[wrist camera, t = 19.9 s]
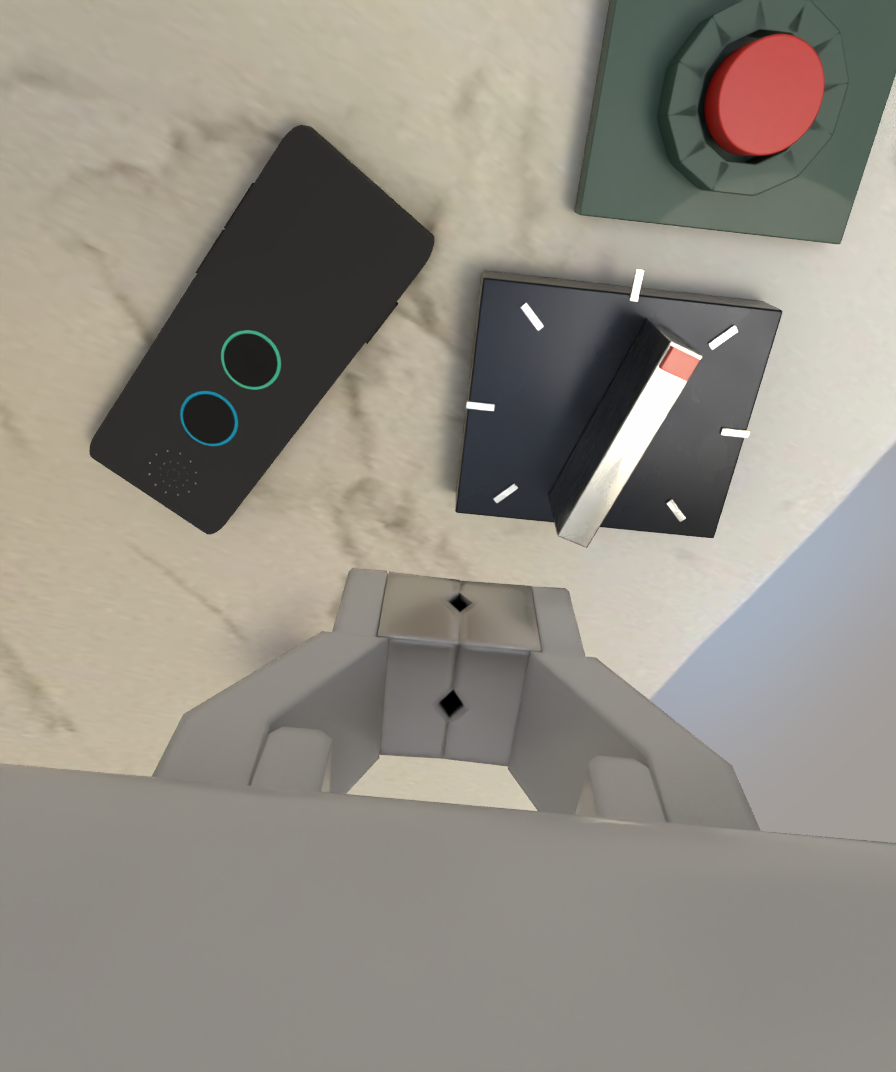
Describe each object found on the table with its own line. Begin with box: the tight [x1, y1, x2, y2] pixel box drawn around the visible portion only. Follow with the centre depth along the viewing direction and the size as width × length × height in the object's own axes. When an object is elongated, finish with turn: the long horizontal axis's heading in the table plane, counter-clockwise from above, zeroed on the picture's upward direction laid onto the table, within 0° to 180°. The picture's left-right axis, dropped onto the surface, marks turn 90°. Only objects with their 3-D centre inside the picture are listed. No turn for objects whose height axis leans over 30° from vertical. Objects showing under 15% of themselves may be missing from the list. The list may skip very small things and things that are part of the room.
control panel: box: [456, 269, 782, 538], centre depth 37 cm, size 14×14×3 cm
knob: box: [548, 319, 703, 548], centre depth 34 cm, size 10×2×5 cm, turn 156°
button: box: [704, 34, 825, 156], centre depth 29 cm, size 4×4×2 cm
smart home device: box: [90, 125, 434, 534], centre depth 37 cm, size 8×2×20 cm
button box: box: [575, 0, 896, 244], centre depth 31 cm, size 12×10×4 cm
